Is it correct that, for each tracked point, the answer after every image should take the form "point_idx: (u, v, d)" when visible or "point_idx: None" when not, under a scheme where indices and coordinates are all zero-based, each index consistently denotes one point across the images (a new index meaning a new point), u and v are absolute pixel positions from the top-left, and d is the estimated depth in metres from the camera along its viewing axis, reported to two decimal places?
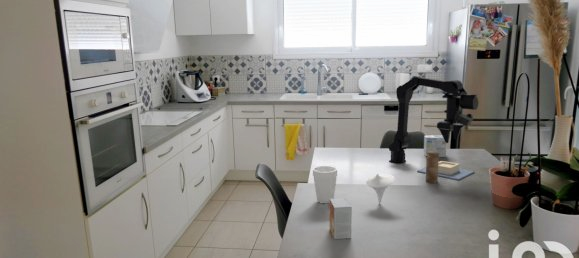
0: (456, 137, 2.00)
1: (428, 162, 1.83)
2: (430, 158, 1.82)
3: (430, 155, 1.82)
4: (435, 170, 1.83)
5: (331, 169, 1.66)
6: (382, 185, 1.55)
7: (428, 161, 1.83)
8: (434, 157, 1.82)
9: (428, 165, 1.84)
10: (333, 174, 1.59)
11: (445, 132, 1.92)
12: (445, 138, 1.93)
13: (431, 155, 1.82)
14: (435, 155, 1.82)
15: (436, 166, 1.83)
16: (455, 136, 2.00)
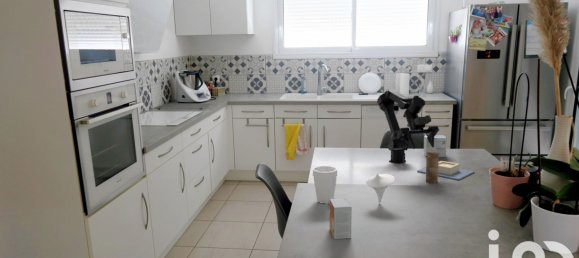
0: (432, 144, 1.93)
1: (428, 162, 1.83)
2: (430, 158, 1.82)
3: (430, 155, 1.82)
4: (435, 170, 1.83)
5: (331, 169, 1.66)
6: (382, 185, 1.55)
7: (428, 161, 1.83)
8: (434, 157, 1.82)
9: (428, 165, 1.84)
10: (333, 174, 1.59)
11: (408, 139, 1.94)
12: (411, 144, 1.92)
13: (431, 155, 1.82)
14: (435, 155, 1.82)
15: (436, 166, 1.83)
16: (431, 144, 1.94)
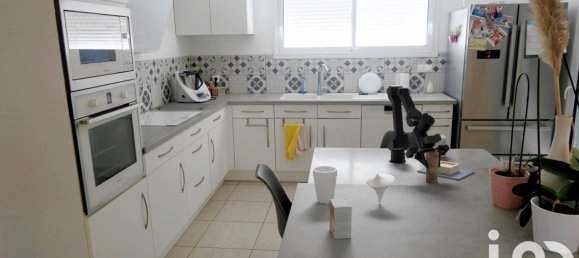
0: (438, 164, 1.85)
1: (428, 162, 1.83)
2: (430, 158, 1.82)
3: (430, 155, 1.82)
4: (435, 170, 1.83)
5: (331, 169, 1.66)
6: (382, 185, 1.55)
7: (428, 161, 1.83)
8: (434, 157, 1.82)
9: (428, 165, 1.84)
10: (333, 174, 1.59)
11: (421, 158, 1.86)
12: (424, 164, 1.85)
13: (431, 155, 1.82)
14: (435, 155, 1.82)
15: (436, 166, 1.83)
16: None
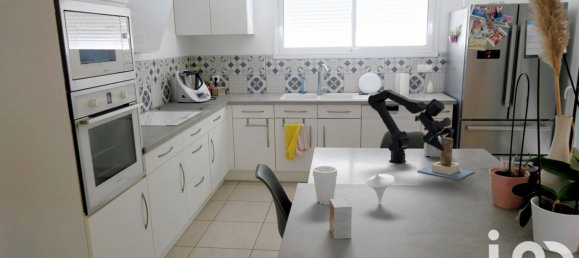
0: (453, 145, 1.99)
1: (445, 148, 1.95)
2: (447, 143, 1.94)
3: (448, 141, 1.94)
4: (451, 154, 1.96)
5: (331, 169, 1.66)
6: (382, 185, 1.55)
7: (446, 147, 1.95)
8: (451, 142, 1.95)
9: (445, 150, 1.95)
10: (333, 174, 1.59)
11: (435, 142, 1.95)
12: (439, 147, 1.94)
13: (448, 141, 1.94)
14: (451, 140, 1.95)
15: (451, 151, 1.96)
16: None
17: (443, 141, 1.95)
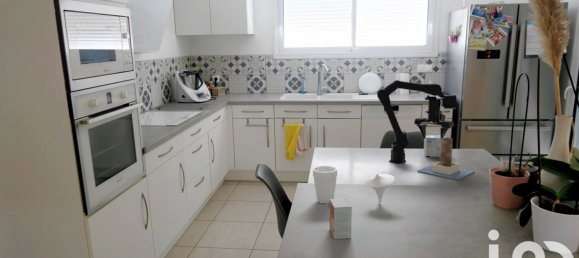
0: (425, 136, 2.18)
1: (445, 148, 1.95)
2: (447, 144, 1.94)
3: (447, 141, 1.94)
4: (451, 154, 1.96)
5: (331, 169, 1.66)
6: (382, 185, 1.55)
7: (445, 147, 1.95)
8: (450, 142, 1.95)
9: (445, 151, 1.95)
10: (333, 174, 1.59)
11: (444, 131, 2.09)
12: (443, 136, 2.10)
13: (448, 141, 1.94)
14: (451, 140, 1.95)
15: (451, 151, 1.96)
16: (425, 135, 2.17)
17: (443, 141, 1.95)
